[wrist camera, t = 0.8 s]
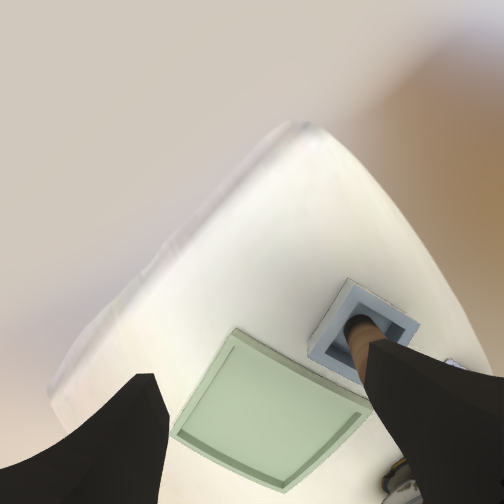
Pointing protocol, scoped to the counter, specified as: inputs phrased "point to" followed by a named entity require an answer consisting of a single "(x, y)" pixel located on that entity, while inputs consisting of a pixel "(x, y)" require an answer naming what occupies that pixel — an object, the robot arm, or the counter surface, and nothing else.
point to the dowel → (361, 340)
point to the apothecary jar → (401, 485)
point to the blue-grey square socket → (343, 308)
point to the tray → (267, 415)
